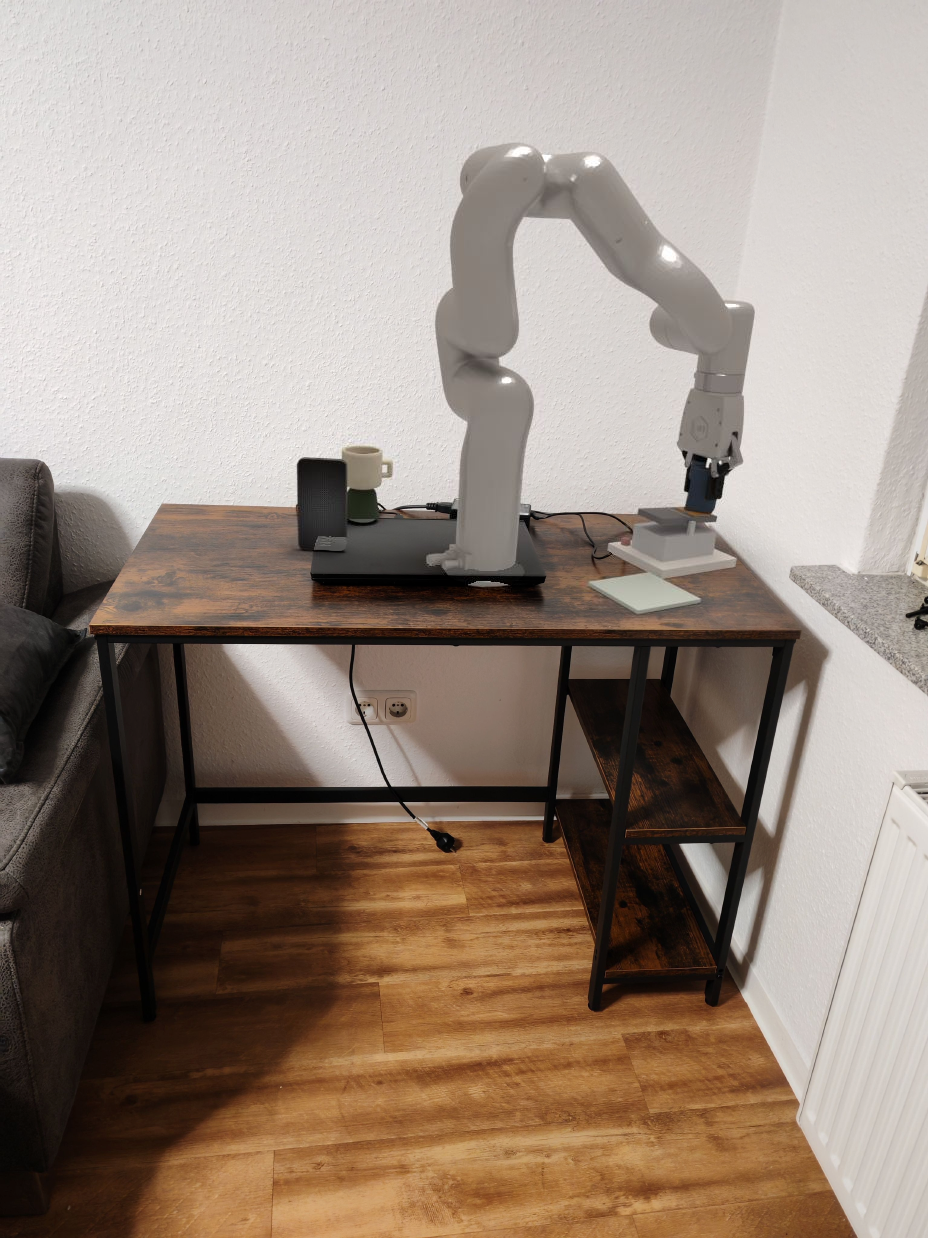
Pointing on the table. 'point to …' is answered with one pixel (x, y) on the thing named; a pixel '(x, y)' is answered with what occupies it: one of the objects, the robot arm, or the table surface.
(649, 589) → the mat
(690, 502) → the vaping device
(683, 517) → the plate
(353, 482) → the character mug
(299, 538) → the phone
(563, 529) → the table surface
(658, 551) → the white rocker switch base
